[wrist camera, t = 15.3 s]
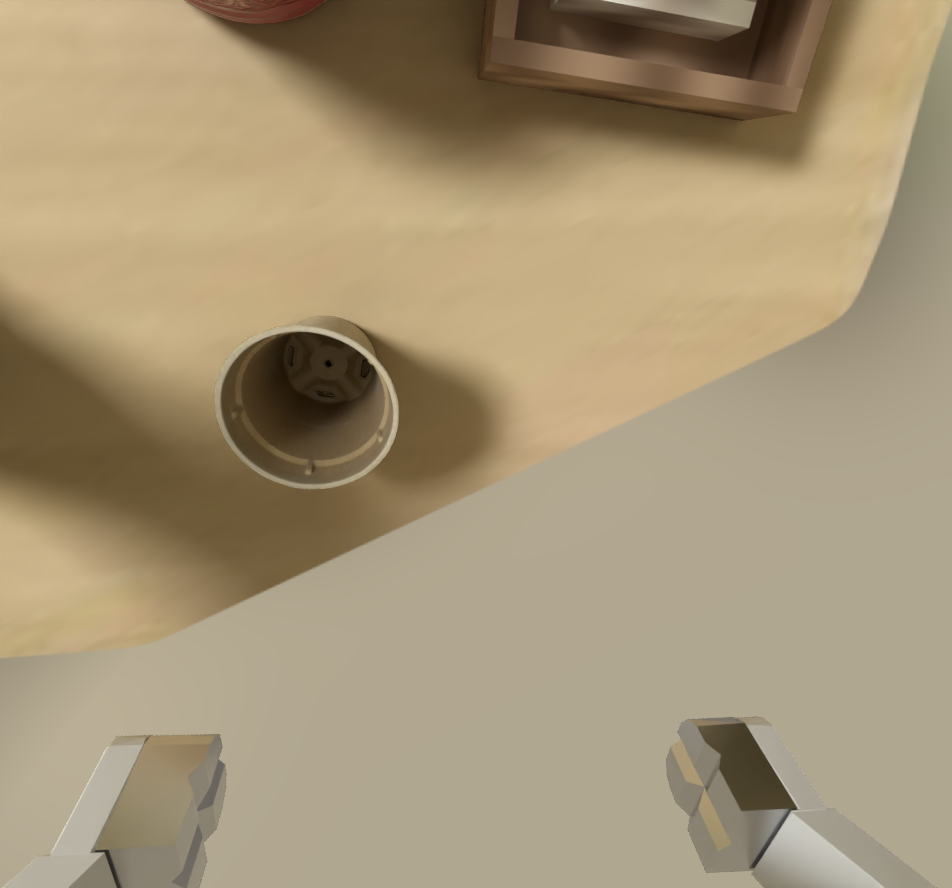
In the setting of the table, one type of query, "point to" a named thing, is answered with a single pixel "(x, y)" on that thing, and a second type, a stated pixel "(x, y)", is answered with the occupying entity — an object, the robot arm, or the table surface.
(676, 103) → the socket box
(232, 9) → the canister
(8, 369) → the table surface
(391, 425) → the flower pot
